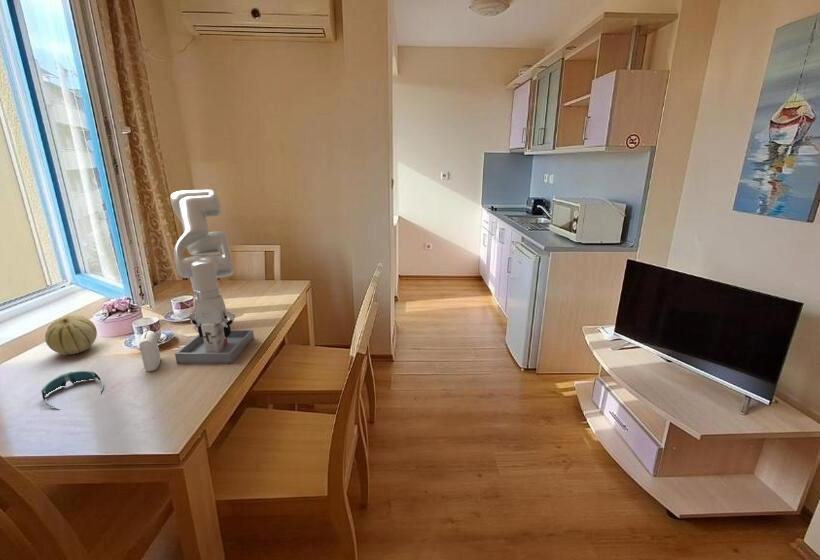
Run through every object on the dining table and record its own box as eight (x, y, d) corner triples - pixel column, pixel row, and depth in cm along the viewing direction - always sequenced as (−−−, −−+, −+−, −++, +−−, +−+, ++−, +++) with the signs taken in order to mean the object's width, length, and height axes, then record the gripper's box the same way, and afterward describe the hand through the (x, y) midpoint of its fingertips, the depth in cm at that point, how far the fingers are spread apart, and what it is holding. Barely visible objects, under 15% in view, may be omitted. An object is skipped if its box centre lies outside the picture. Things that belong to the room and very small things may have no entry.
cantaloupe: (93, 339, 157) (83, 305, 153) (107, 349, 149) (97, 313, 145) (46, 354, 146) (34, 318, 141) (58, 365, 138) (45, 327, 133)
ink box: (215, 342, 152) (211, 315, 148) (228, 342, 152) (223, 315, 148) (205, 353, 144) (199, 324, 140) (218, 353, 144) (213, 324, 140)
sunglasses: (95, 376, 131) (92, 364, 129) (110, 397, 123) (107, 384, 121) (40, 395, 121) (35, 382, 119) (52, 419, 113) (48, 406, 111)
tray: (176, 363, 139) (174, 353, 138) (206, 338, 158) (204, 329, 157) (231, 363, 138) (229, 354, 137) (254, 338, 157) (252, 329, 156)
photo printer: (148, 359, 142) (141, 329, 138) (162, 357, 143) (155, 326, 140) (144, 373, 133) (136, 340, 129) (158, 370, 134) (151, 338, 131)
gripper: (178, 296, 138) (187, 340, 143) (226, 297, 137) (233, 340, 142) (190, 289, 145) (198, 331, 150) (235, 290, 144) (242, 331, 149)
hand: (215, 335), depth 146 cm, fingers open, 9 cm apart
